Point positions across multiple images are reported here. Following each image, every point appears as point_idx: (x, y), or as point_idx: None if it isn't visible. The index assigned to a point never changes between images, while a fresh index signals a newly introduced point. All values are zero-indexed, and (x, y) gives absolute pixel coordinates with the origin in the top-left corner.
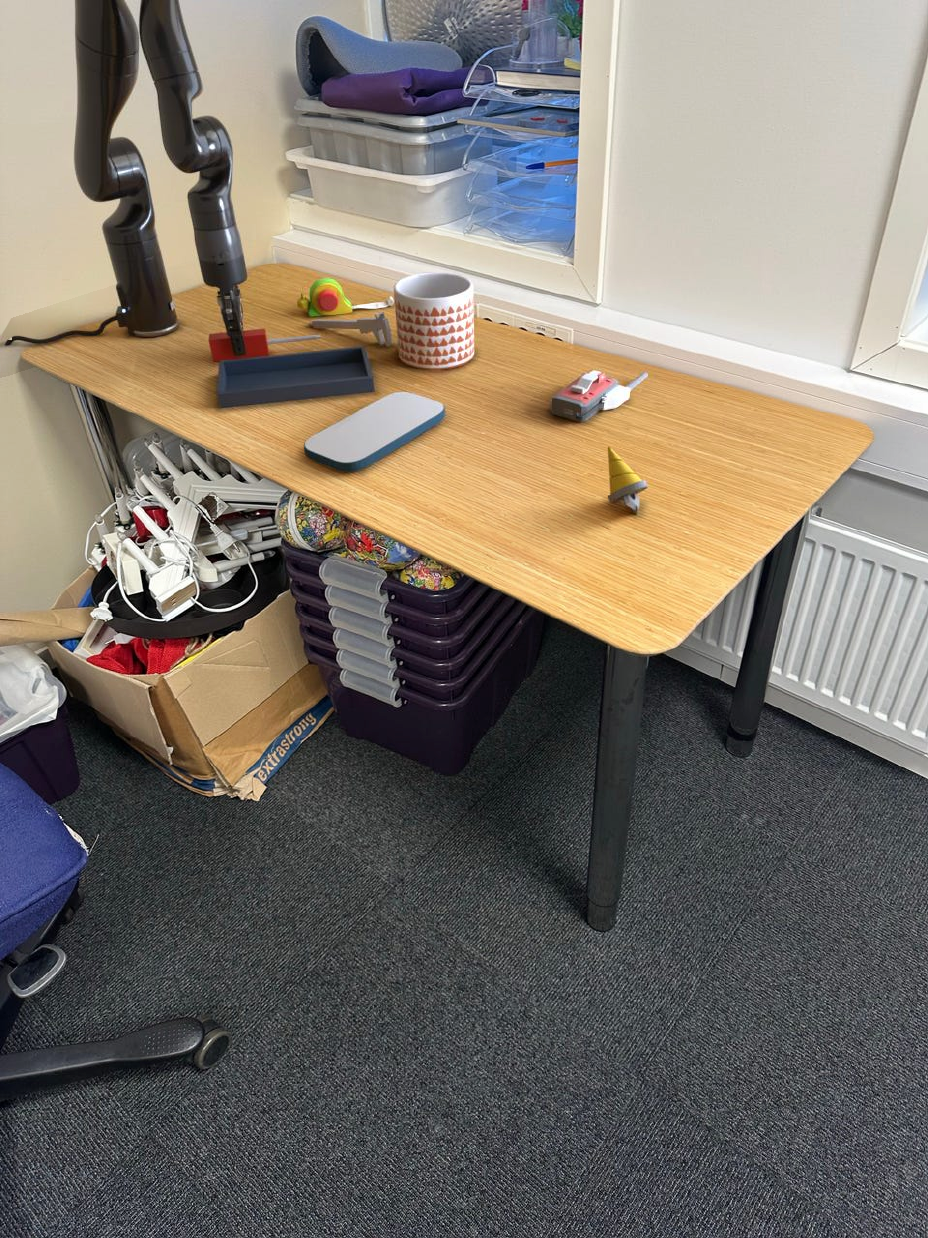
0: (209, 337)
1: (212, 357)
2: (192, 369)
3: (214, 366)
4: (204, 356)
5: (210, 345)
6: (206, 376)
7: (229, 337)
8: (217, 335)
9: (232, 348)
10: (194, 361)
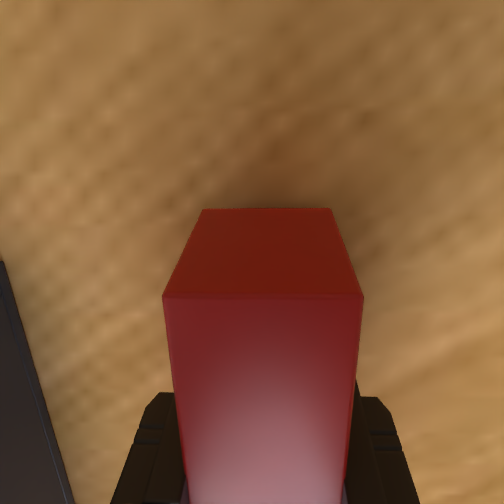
0: (245, 301)
1: (198, 219)
2: (140, 28)
3: (174, 204)
4: (390, 118)
5: (177, 270)
6: (3, 154)
7: (198, 467)
8: (282, 376)
9: (170, 406)
10: (308, 33)
